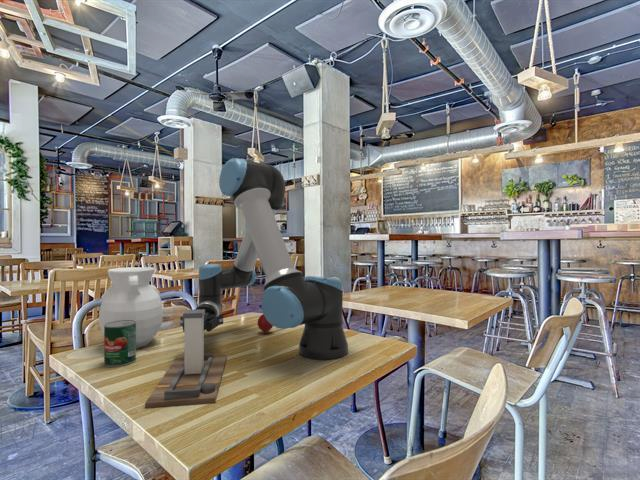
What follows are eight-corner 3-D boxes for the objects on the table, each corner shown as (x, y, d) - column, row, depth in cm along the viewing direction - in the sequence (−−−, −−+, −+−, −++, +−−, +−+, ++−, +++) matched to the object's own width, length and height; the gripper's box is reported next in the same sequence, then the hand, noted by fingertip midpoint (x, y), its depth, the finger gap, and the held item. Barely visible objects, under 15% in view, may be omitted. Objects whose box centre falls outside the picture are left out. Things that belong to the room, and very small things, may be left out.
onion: (260, 330, 134) (260, 309, 134) (275, 331, 133) (275, 309, 133) (255, 334, 128) (255, 312, 128) (270, 335, 128) (270, 313, 127)
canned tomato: (101, 368, 95) (101, 327, 95) (106, 359, 102) (106, 321, 102) (134, 364, 98) (134, 325, 98) (137, 355, 105) (137, 318, 105)
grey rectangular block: (186, 368, 92) (186, 309, 92) (205, 367, 93) (205, 309, 93) (183, 375, 88) (182, 313, 88) (202, 373, 88) (202, 313, 88)
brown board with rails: (176, 361, 101) (176, 352, 101) (226, 358, 103) (226, 349, 103) (145, 407, 73) (145, 395, 73) (215, 402, 76) (215, 390, 76)
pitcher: (100, 341, 120) (100, 267, 120) (160, 334, 129) (160, 265, 129) (97, 358, 103) (97, 272, 103) (166, 348, 113) (165, 269, 112)
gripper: (226, 325, 117) (217, 347, 93) (184, 327, 115) (165, 350, 91) (226, 302, 117) (217, 319, 93) (184, 303, 115) (165, 321, 91)
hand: (191, 334), depth 92 cm, fingers closed
